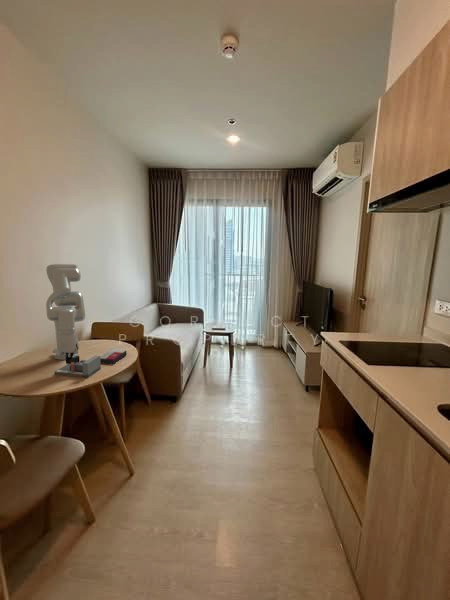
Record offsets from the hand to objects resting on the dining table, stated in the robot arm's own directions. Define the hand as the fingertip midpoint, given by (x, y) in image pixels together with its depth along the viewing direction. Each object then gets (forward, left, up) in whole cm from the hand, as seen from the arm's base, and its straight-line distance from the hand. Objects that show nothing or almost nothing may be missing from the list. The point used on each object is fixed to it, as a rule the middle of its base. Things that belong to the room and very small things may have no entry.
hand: (69, 362), depth 145 cm
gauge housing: (+5, 0, -5) cm, 7 cm away
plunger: (+7, -1, -3) cm, 7 cm away
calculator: (+13, +21, -5) cm, 25 cm away
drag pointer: (+6, -4, -3) cm, 8 cm away
